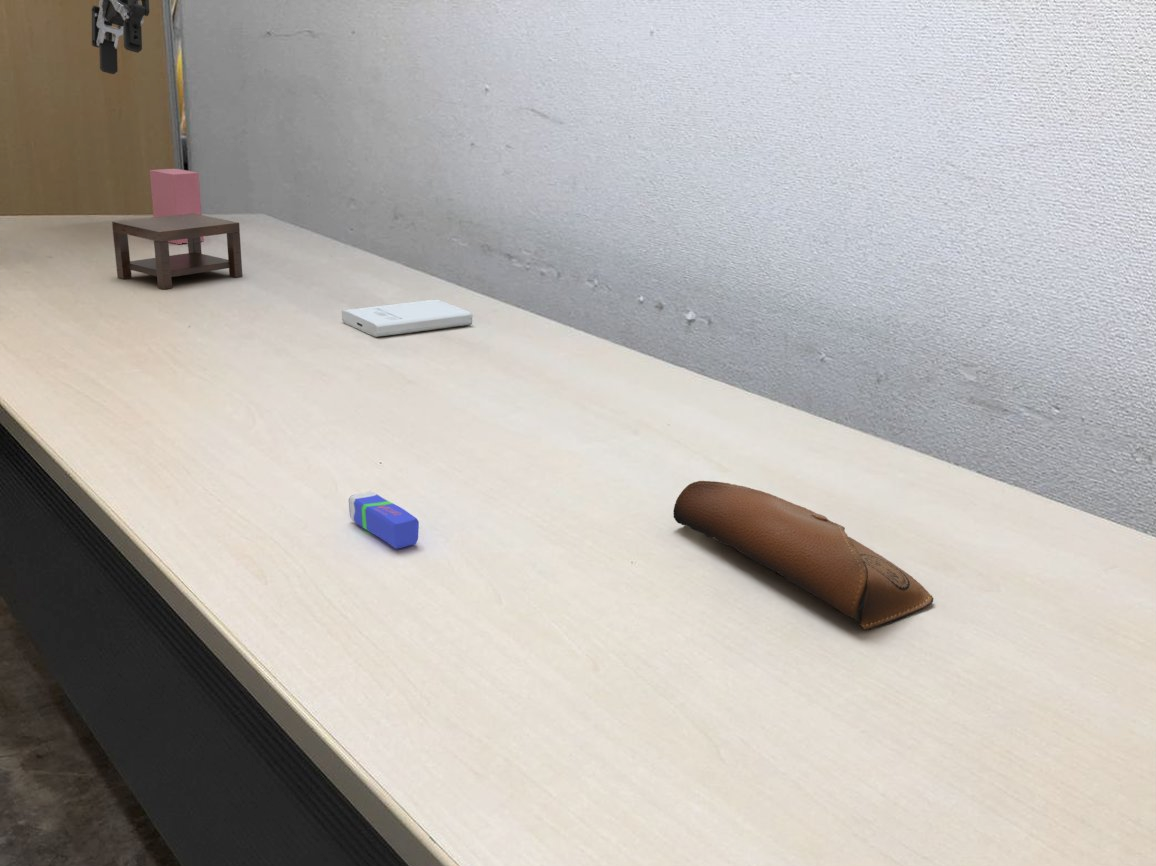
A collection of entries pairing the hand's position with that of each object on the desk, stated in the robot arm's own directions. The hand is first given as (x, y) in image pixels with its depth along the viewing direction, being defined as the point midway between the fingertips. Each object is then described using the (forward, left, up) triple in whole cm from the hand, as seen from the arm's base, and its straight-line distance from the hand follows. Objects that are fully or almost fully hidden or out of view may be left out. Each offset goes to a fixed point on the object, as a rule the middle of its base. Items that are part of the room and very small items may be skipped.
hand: (120, 61), depth 158 cm
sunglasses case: (-18, -131, -25) cm, 134 cm away
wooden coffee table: (-8, -29, -25) cm, 39 cm away
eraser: (-36, -109, -25) cm, 117 cm away
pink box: (+4, -6, -25) cm, 25 cm away
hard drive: (+1, -64, -25) cm, 68 cm away
